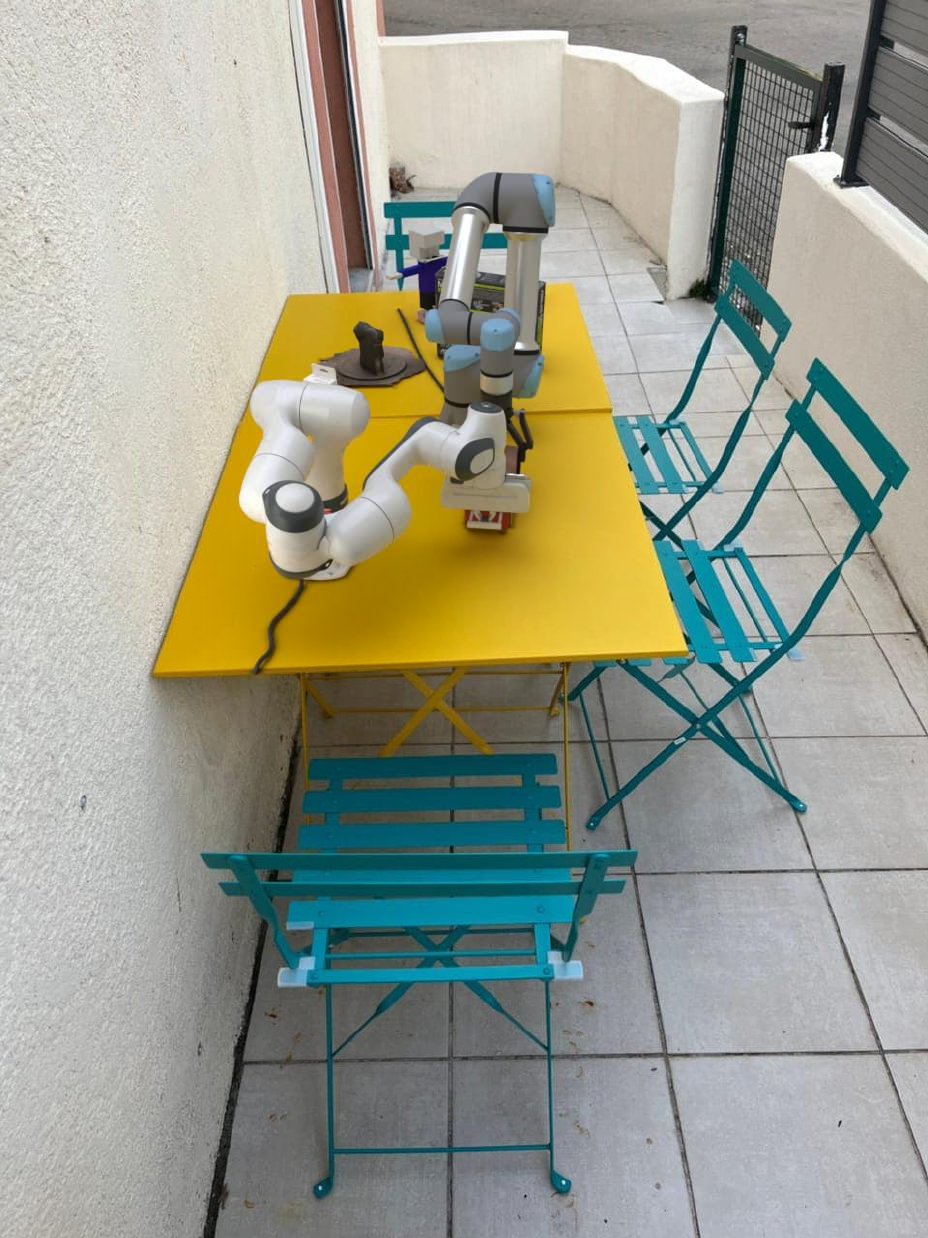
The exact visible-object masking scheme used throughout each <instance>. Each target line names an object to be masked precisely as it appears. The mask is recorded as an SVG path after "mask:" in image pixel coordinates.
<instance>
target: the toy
mask: <svg viewBox="0 0 928 1238" xmlns="http://www.w3.org/2000/svg"><path fill="white" fill-rule="evenodd" d="M445 240H446V239H445V230H444V229H442V228H439V227H437V226H434V225H431V224H430V223H429V224H425V225H421V226H417V227H413V228H410V229H408V246H409V247H408V248H409V256H410V257H412V258H414V259H416V261H417V264H415V265H411V266H408V267H404V268H401V269H398V270H397V271H395V272H391V273H388V274H385V275H384V276H385V279H386V280H388V281H395V280H399V279H402V280H403V279H406V278H409V277H413V276H416V275H417V279H418V280H417V281H418V282H417V283H418V293H419V298H418V299H419V308H421V309H420V310H417V312H416V313H417V321H418V322H421V323H422V324H424V325H425V319H426V314H427V312H428V311H429V310H434V309H436V285H435V284H436V276H435V274H436V273H437V272H438V271H440V270H441V269H442V268H443V267H446V264H447V259H448V255H447V256H445V254H440V246H441V245H444V244H445Z"/></svg>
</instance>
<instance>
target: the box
mask: <svg viewBox="0 0 928 1238" xmlns="http://www.w3.org/2000/svg"><path fill="white" fill-rule="evenodd" d="M445 269H446V266H445V267H442V269H441V270H440V271H438V272H437V273H436V274H435V276H436V284H435V285H436V309H438V305H439V300H440V295H441V290H442V284H443V279H444V274H445ZM505 279H506V274H501V273H500V274H499V273H494V272H485V271H478V270H477V274H476V279H475V285H474V290H473V296H472V301H471V307H470V312H478V313H495V312H496V311H497V310H499V309H501V308H504V296H505ZM546 288H547V281H544V280H540V279H539V285H538V299H537V313H536V327H535V342H536V343H537V344H538V345H539V347H540V350H539V354H542V355H543V340H544V339H543V337H544V320H545V305H546V303H545V302H546ZM454 345H455V344H445V345H444V344H439V343H436V356H437V358H440V359H441V358H442V359H444V354H445V352H446V351H447V350H448V349H449V348H450V347H452V346H454Z"/></svg>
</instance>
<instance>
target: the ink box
mask: <svg viewBox="0 0 928 1238" xmlns="http://www.w3.org/2000/svg"><path fill="white" fill-rule="evenodd" d="M319 369H324V370H327V371H328V373H327V372H323V371H320V370H319ZM311 371H312V373H311V374H309V375H307V376H306V377H305V378H303V379H302V382H309V383H311V382H313V383H322V384H331V385H337V379H336V372H335V369H334V368H330V367H326V366H322V365H317V363H311Z"/></svg>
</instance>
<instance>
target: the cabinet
mask: <svg viewBox="0 0 928 1238" xmlns="http://www.w3.org/2000/svg"><path fill="white" fill-rule="evenodd" d="M517 452H518V446H517V445H509V444H506V446H505V449H504V453H505V457H506V473H514V474H517ZM513 516H514V513H512V512H508V528H511V527H512V522H513ZM464 525H466V509H464Z"/></svg>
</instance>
